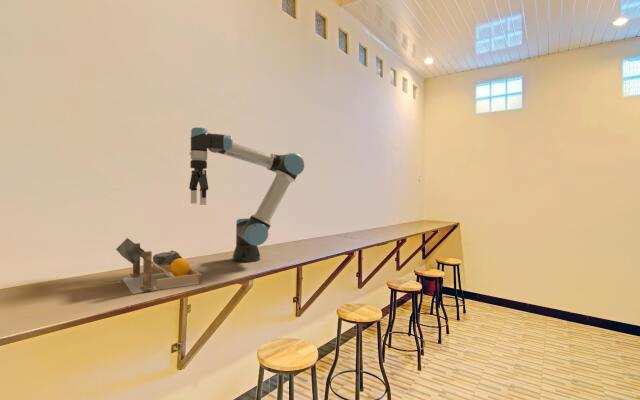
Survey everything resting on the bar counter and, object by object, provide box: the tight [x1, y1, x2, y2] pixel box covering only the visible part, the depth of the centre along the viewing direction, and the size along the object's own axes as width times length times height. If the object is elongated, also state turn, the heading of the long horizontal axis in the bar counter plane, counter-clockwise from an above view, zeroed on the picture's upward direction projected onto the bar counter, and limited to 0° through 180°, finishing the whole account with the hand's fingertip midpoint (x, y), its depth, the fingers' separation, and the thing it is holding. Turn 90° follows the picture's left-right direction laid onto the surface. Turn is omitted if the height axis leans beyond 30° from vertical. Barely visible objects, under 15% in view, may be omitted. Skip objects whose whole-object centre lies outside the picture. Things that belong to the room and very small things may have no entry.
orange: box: [171, 257, 191, 277], centre depth 145 cm, size 8×8×8 cm
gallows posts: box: [129, 242, 154, 293], centre depth 136 cm, size 4×26×15 cm, turn 38°
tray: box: [122, 265, 202, 295], centre depth 141 cm, size 25×24×4 cm
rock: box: [152, 250, 183, 267], centre depth 161 cm, size 16×8×10 cm, turn 142°
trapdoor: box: [116, 237, 172, 278], centre depth 137 cm, size 23×19×6 cm
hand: (198, 204), depth 163 cm, fingers open, 13 cm apart
